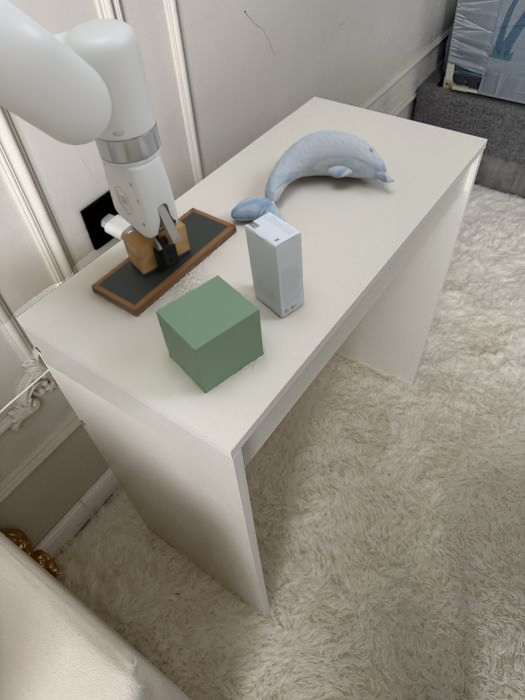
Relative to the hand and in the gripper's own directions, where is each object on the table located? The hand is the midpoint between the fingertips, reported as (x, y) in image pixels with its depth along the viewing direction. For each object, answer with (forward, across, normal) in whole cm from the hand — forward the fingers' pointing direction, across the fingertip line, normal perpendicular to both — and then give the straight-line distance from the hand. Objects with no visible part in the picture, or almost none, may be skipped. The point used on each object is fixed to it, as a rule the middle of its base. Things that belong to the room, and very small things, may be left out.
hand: (160, 257), depth 77 cm
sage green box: (+1, +20, -4) cm, 20 cm away
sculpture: (+2, +4, +27) cm, 28 cm away
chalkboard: (+1, 0, +1) cm, 2 cm away
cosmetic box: (+2, +18, +8) cm, 19 cm away
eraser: (0, 0, 0) cm, 0 cm away
